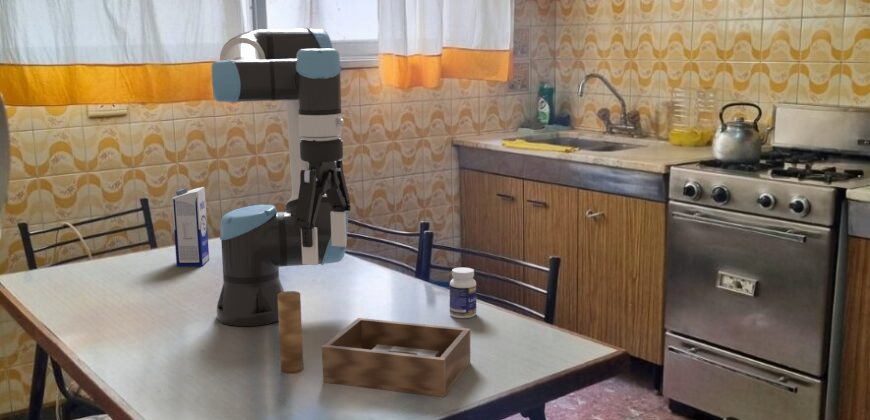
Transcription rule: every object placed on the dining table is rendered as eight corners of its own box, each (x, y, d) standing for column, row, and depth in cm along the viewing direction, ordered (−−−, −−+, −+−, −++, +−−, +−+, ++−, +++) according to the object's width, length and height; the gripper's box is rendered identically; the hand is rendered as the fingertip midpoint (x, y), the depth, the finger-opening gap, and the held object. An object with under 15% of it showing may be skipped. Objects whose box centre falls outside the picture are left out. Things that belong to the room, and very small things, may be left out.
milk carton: (202, 266, 229) (197, 190, 225) (176, 266, 229) (170, 190, 225) (209, 259, 236) (204, 185, 232) (184, 259, 236) (179, 185, 232)
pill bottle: (474, 320, 186) (474, 274, 183) (447, 318, 187) (446, 272, 185) (478, 311, 191) (478, 266, 189) (452, 310, 192) (452, 265, 190)
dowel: (277, 371, 159) (273, 296, 156) (287, 363, 162) (284, 290, 160) (297, 374, 157) (293, 298, 155) (307, 366, 161) (304, 292, 158)
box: (323, 382, 154) (321, 346, 152) (359, 350, 169) (358, 317, 167) (444, 397, 147) (443, 360, 146) (470, 362, 162) (470, 328, 161)
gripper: (312, 147, 143) (317, 274, 147) (365, 130, 167) (368, 239, 171) (270, 146, 145) (276, 271, 149) (327, 129, 169) (331, 237, 173)
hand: (325, 254), depth 160 cm, fingers open, 13 cm apart
